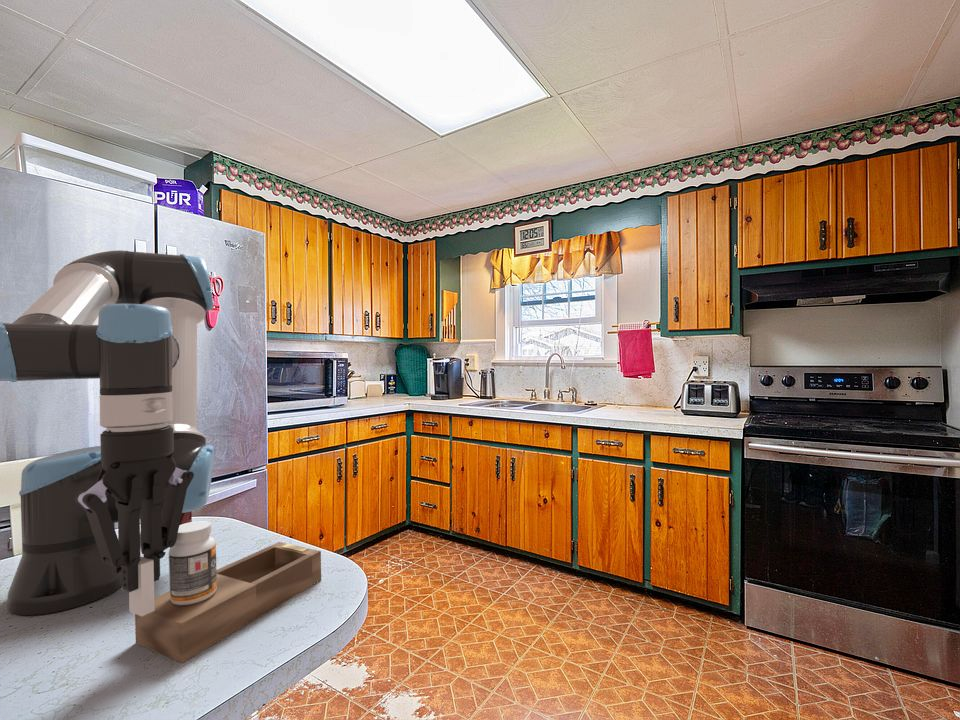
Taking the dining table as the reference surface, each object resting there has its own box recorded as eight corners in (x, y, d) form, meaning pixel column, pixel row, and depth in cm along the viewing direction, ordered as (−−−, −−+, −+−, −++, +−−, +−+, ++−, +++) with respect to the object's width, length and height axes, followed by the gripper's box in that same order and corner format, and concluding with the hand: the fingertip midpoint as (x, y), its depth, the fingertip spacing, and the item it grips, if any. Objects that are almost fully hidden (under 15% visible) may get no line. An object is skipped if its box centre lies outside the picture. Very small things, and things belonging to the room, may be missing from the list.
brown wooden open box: (135, 643, 64) (134, 604, 64) (279, 569, 86) (279, 540, 85) (182, 662, 60) (181, 622, 59) (321, 579, 81) (320, 549, 81)
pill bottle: (224, 594, 67) (222, 524, 67) (178, 612, 62) (176, 537, 62) (207, 582, 70) (206, 516, 70) (163, 598, 66) (161, 527, 66)
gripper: (93, 436, 52) (98, 647, 53) (206, 421, 64) (209, 593, 64) (59, 432, 56) (64, 631, 56) (172, 418, 67) (175, 582, 68)
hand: (142, 611), depth 60 cm, fingers closed
